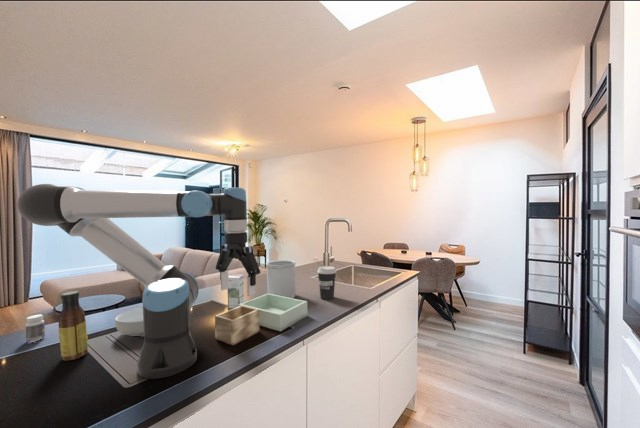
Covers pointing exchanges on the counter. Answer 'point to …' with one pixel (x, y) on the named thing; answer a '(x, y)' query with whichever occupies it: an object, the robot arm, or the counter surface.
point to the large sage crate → (278, 310)
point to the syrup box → (235, 291)
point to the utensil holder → (281, 278)
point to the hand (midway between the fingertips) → (237, 292)
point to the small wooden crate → (236, 324)
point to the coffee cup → (326, 282)
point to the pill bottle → (35, 328)
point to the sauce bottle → (72, 327)
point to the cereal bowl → (131, 322)
